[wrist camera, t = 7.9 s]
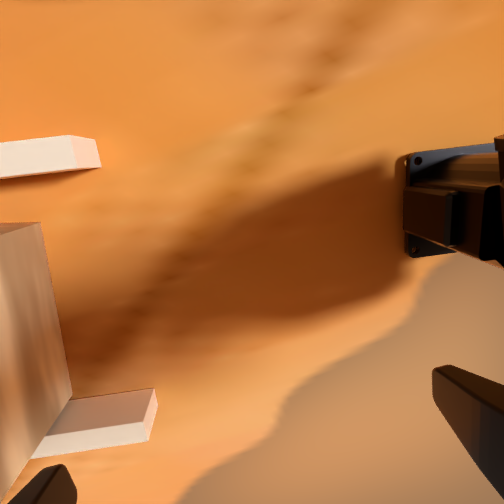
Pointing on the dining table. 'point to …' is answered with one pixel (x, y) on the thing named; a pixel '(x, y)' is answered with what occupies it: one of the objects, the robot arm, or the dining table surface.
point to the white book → (94, 408)
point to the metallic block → (27, 349)
